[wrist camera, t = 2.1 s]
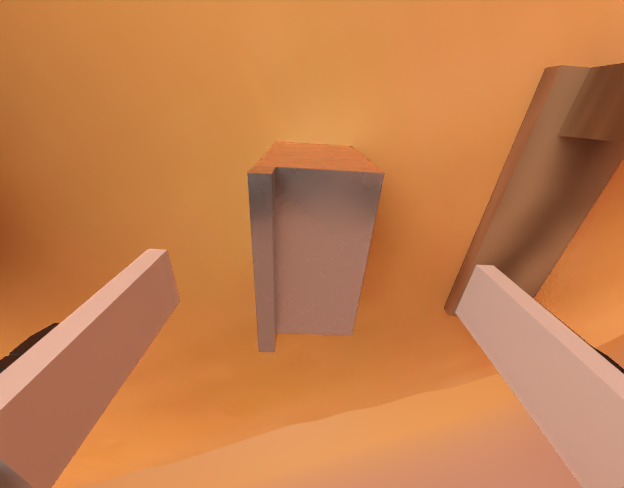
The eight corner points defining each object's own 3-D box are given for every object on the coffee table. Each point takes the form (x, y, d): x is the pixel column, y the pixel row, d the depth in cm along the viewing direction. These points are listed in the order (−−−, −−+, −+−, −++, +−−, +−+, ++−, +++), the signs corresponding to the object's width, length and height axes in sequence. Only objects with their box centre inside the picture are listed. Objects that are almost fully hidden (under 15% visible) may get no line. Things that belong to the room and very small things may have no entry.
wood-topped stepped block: (277, 256, 21) (258, 351, 13) (276, 141, 16) (247, 172, 8) (336, 259, 21) (356, 353, 13) (350, 146, 17) (394, 180, 8)
